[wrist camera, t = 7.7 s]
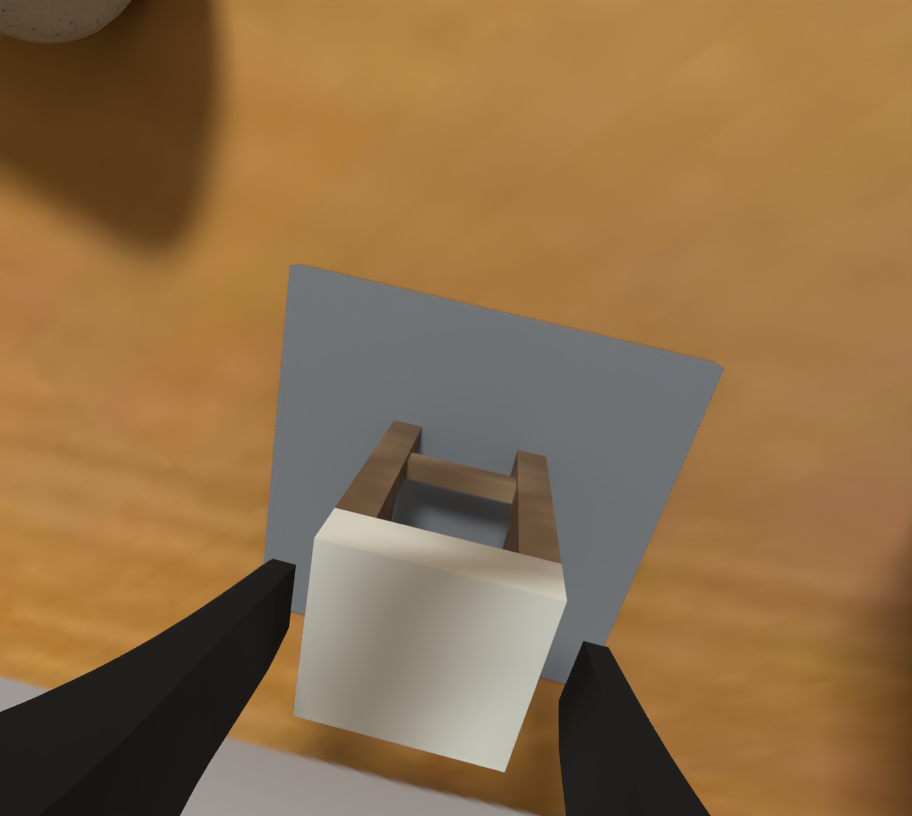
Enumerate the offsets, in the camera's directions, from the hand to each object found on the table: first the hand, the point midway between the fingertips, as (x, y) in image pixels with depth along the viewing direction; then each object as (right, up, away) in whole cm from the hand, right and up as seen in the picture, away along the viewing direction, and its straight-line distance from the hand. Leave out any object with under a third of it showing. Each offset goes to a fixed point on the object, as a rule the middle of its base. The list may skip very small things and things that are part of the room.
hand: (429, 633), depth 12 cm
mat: (+1, +2, +7) cm, 7 cm away
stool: (+1, +2, +6) cm, 6 cm away
